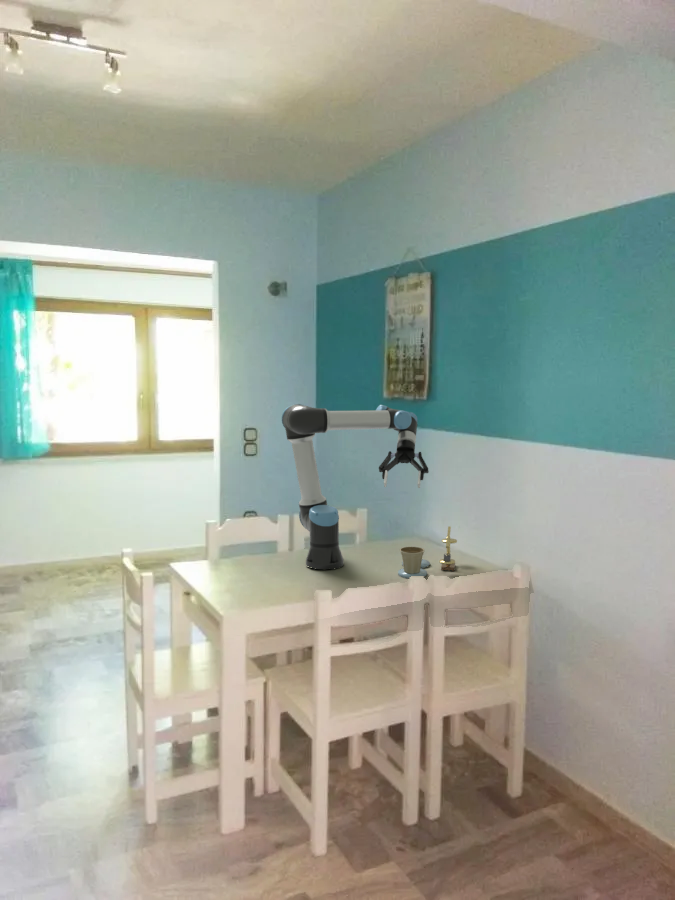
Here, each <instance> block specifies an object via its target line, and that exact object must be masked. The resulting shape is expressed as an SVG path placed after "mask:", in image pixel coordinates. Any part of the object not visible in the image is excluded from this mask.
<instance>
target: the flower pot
mask: <svg viewBox="0 0 675 900" xmlns="http://www.w3.org/2000/svg"><path fill="white" fill-rule="evenodd" d="M399 551H400V554H401V558H402V561H403V566H402V567H403V568H404V572H406V573H410V574H414V573H419V572H420V569H422V568H421V562H422V559H423V555H424V553H425V549H424V548H422V547H419V546H402V547H401V548H400V549H399Z"/></svg>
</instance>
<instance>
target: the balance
mask: <svg viewBox="0 0 675 900" xmlns="http://www.w3.org/2000/svg"><path fill="white" fill-rule="evenodd" d="M451 528H452V526H451V525H450V526H447V535H446V538H442V539H441V543H443V544H445V548H446V553H444V554H443V558H440V559H439V564H441V566H440V567H441V569H440V570H452V571H451V572H455V570H454V569H455V568H456V560H455V559H452V558H451V556H452V555H451V544H457V543H458V540H457V539H456V538H451Z"/></svg>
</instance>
